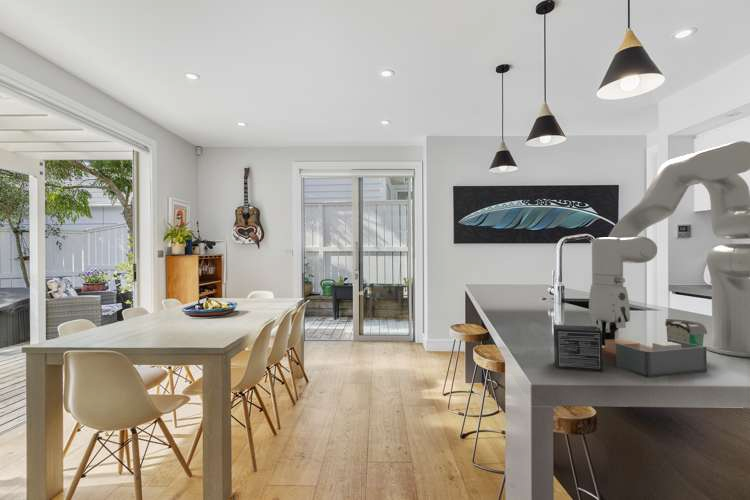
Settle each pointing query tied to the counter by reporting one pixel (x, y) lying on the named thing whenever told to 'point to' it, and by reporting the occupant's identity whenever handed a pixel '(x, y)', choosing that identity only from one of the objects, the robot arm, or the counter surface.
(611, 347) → the terracotta tile
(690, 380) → the counter surface
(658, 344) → the cream tile
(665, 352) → the tray
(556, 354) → the small box
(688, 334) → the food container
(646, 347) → the walnut board
